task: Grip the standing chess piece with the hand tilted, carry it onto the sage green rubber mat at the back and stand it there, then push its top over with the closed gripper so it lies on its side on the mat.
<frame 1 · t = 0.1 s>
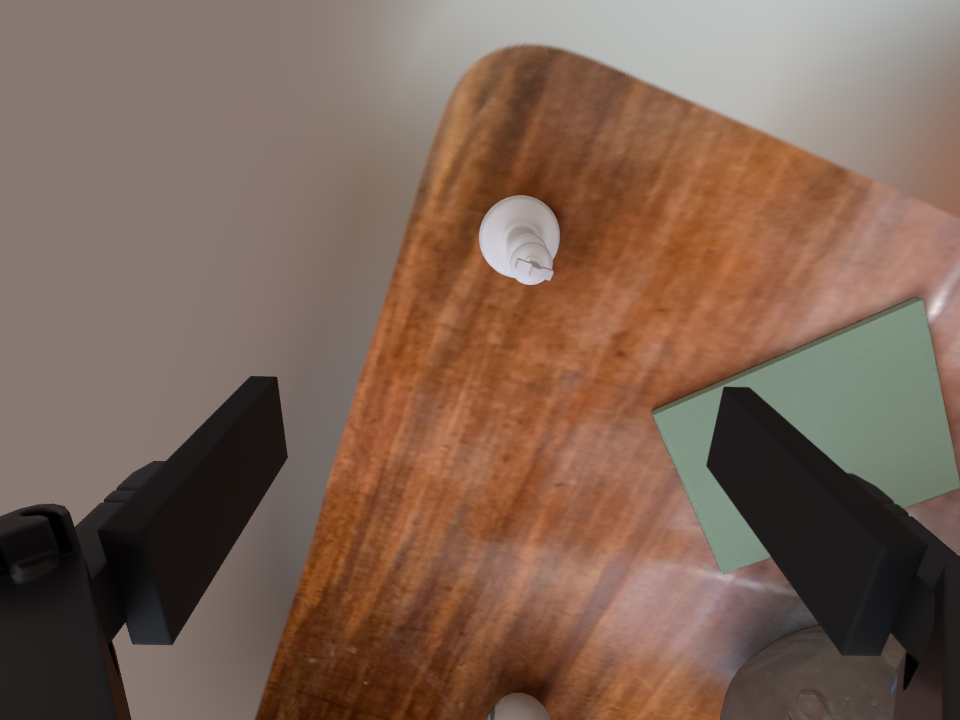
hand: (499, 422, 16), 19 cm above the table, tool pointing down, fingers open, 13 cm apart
clay pot: (811, 660, 46), on the table
mat: (807, 448, 38), on the table
figurine: (516, 695, 48), on the table
chess piece: (519, 236, 32), on the table
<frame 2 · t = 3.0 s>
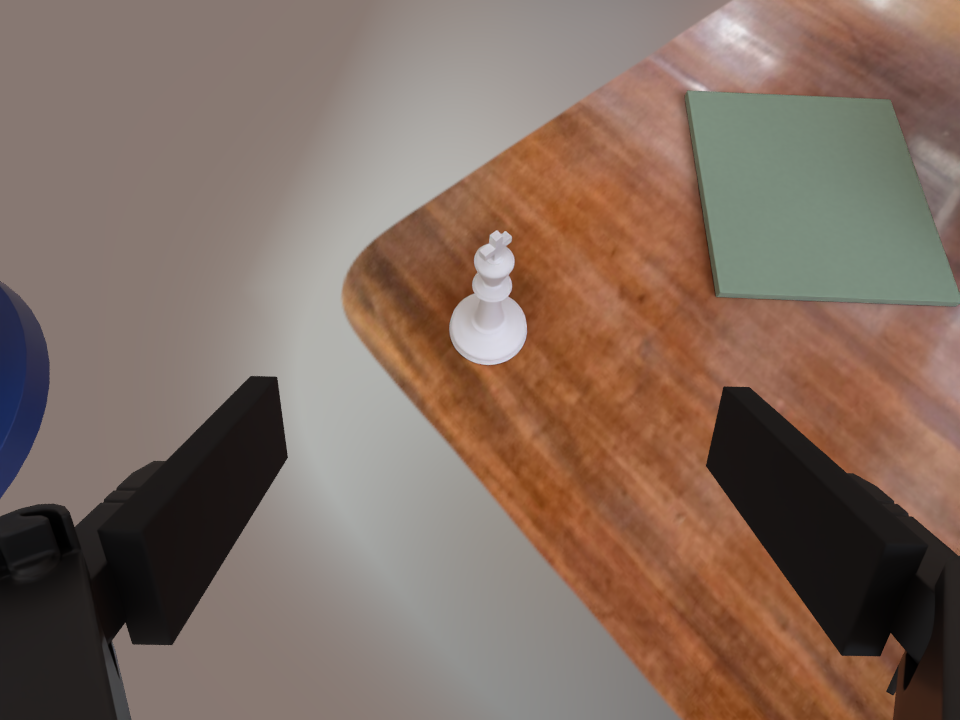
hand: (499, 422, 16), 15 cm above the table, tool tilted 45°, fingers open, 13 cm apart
mat: (808, 192, 38), on the table
chess piece: (488, 330, 33), on the table
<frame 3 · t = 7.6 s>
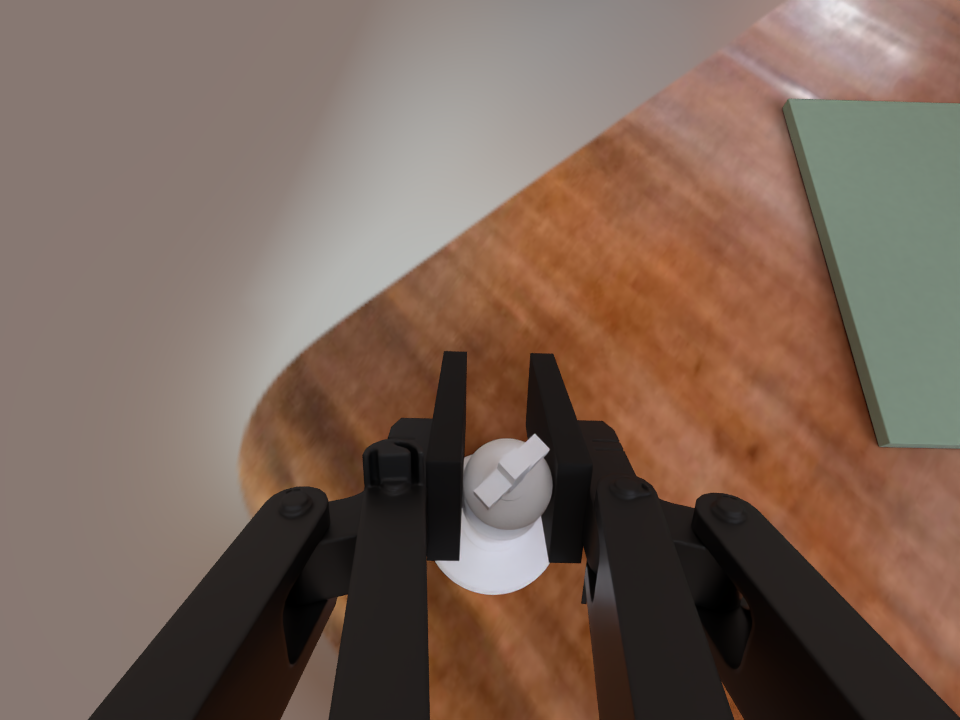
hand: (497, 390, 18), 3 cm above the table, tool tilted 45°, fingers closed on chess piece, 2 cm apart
chess piece: (492, 520, 19), on the table, touching gripper
when the fingers open (4 cm above the table, at t = 15.9 s): chess piece stays where it is, resting on mat.
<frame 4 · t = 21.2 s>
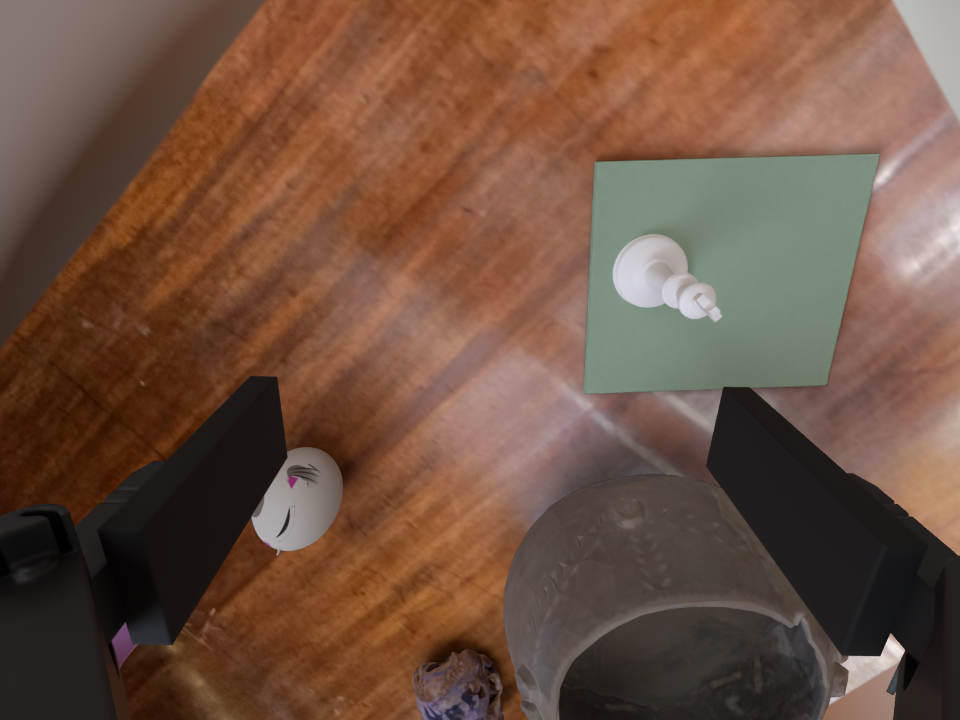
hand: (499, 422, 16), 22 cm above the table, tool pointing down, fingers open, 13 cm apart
clay pot: (622, 538, 44), on the table
purple lumpy piece: (464, 679, 50), on the table
mat: (717, 281, 36), on the table
toy chair: (119, 586, 45), on the table
figurine: (312, 468, 41), on the table
chess piece: (647, 270, 35), resting on mat
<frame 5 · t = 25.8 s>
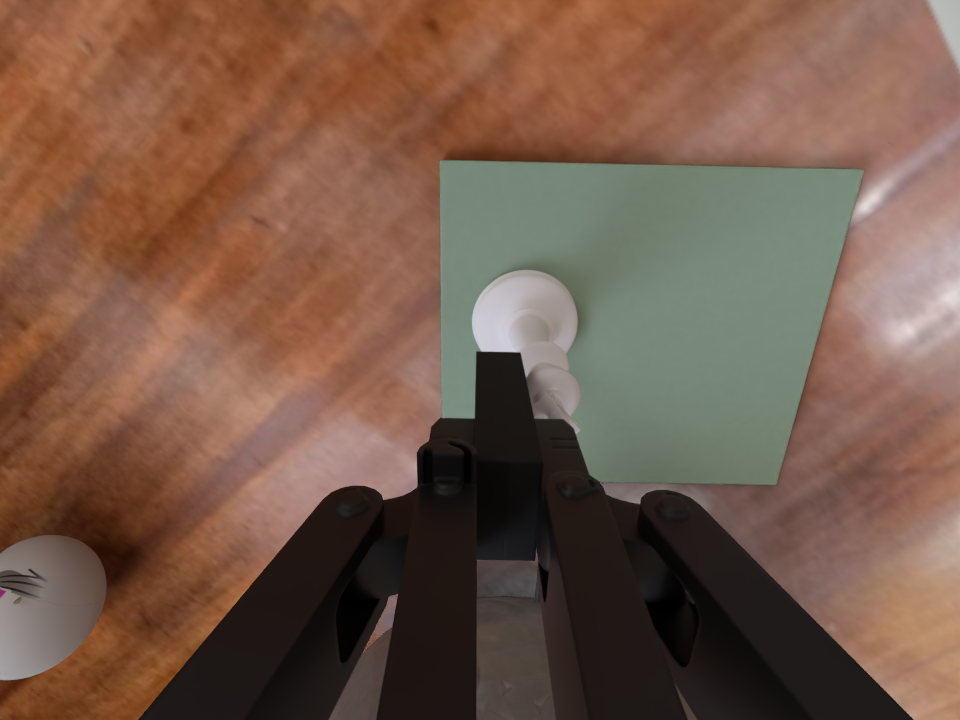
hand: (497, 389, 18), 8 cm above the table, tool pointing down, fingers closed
clay pot: (505, 654, 34), on the table
mat: (625, 338, 26), on the table
figurine: (87, 551, 31), on the table
chess piece: (523, 320, 25), resting on mat, touching gripper
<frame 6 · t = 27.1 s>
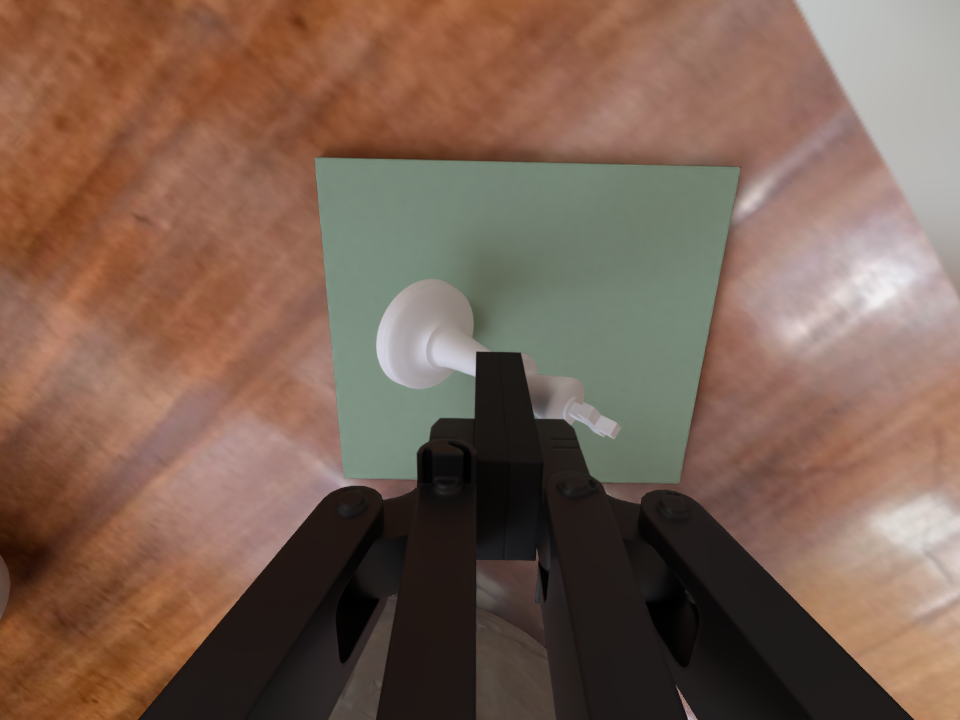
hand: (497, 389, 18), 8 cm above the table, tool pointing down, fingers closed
clay pot: (424, 653, 34), on the table
mat: (518, 336, 26), on the table
chess piece: (420, 332, 23), point 2 cm above the table, touching mat
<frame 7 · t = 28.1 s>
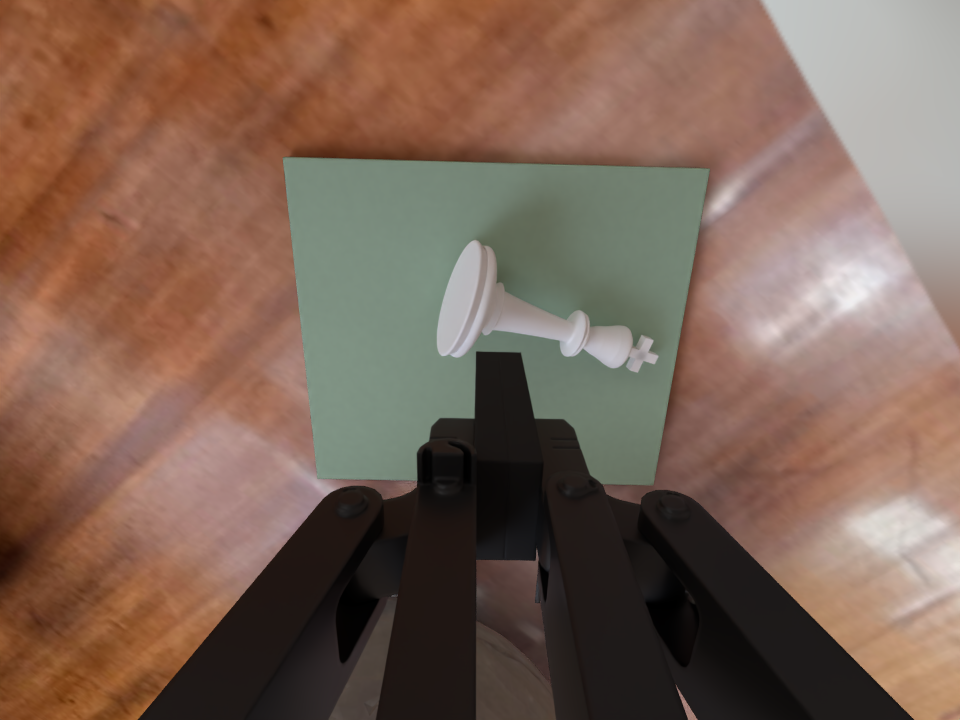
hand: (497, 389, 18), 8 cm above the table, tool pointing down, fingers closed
clay pot: (402, 654, 34), on the table
mat: (490, 337, 26), on the table
chess piece: (451, 296, 21), point 3 cm above the table, touching mat
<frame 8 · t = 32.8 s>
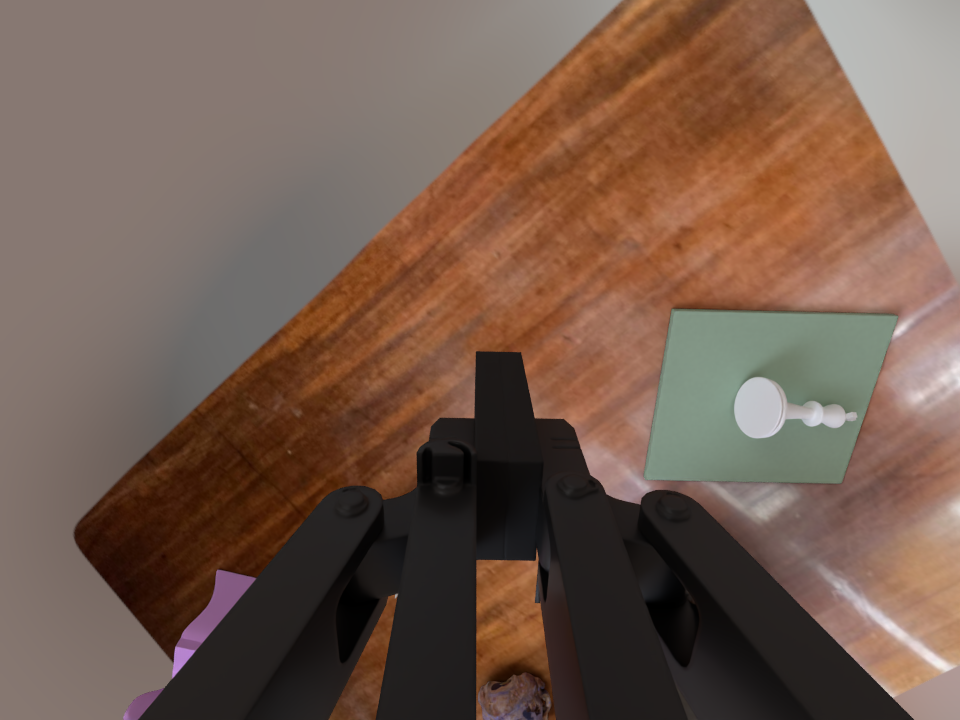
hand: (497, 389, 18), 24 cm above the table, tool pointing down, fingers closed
purple lumpy piece: (517, 696, 59), on the table
mat: (760, 400, 45), on the table
toy chair: (244, 606, 54), on the table
chess piece: (753, 407, 42), point 3 cm above the table, touching mat
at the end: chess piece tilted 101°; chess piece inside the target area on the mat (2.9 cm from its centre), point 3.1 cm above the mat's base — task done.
